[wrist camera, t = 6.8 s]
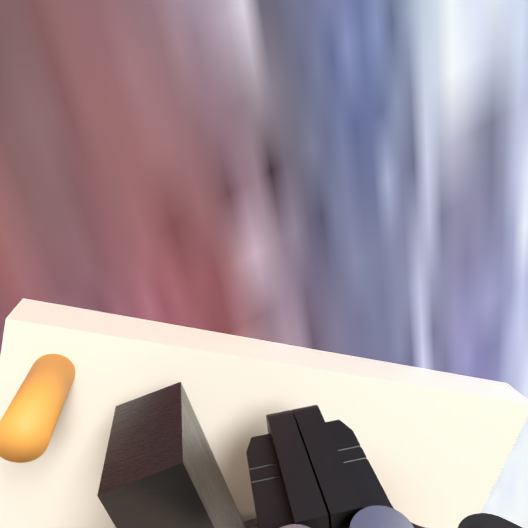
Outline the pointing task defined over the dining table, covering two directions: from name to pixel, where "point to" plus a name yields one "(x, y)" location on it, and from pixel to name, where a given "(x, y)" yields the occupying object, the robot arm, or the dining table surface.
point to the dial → (164, 468)
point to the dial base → (232, 413)
